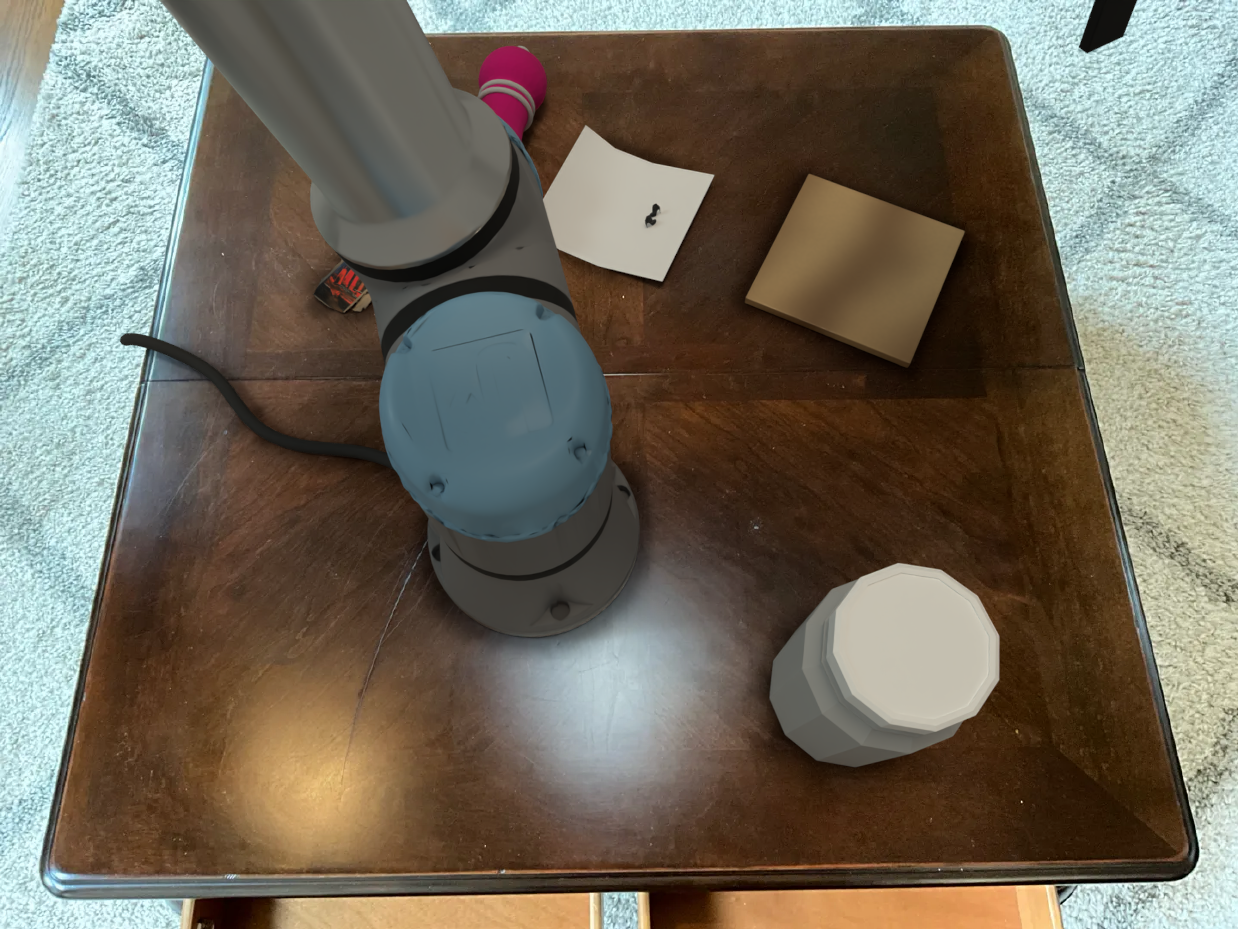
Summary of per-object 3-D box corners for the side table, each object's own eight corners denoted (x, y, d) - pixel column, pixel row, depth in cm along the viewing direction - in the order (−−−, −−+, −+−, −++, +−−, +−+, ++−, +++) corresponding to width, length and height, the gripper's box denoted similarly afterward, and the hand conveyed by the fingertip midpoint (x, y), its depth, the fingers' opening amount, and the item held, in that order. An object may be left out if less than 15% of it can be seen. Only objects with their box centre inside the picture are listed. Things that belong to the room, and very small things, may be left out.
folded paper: (661, 289, 73) (662, 275, 71) (529, 241, 75) (527, 226, 73) (714, 181, 77) (716, 166, 75) (587, 139, 79) (586, 122, 77)
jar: (756, 629, 62) (802, 558, 45) (892, 616, 62) (989, 540, 46) (778, 775, 58) (838, 756, 42) (924, 760, 59) (1041, 736, 42)
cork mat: (744, 302, 72) (745, 297, 71) (807, 179, 77) (808, 172, 76) (907, 368, 70) (910, 363, 69) (962, 236, 74) (965, 230, 74)
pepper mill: (411, 218, 72) (468, 48, 80) (485, 263, 75) (533, 95, 84) (453, 176, 66) (510, -3, 75) (532, 226, 70) (578, 51, 78)
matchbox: (309, 300, 73) (308, 297, 72) (341, 253, 74) (340, 249, 74) (359, 320, 72) (357, 317, 71) (390, 271, 74) (388, 268, 73)
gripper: (1874, -314, 27) (1426, 203, 45) (1237, -482, 40) (1086, -24, 58) (1691, -229, 26) (1309, 263, 44) (1100, -428, 39) (990, 19, 57)
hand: (1183, 101), depth 51 cm, fingers open, 13 cm apart
